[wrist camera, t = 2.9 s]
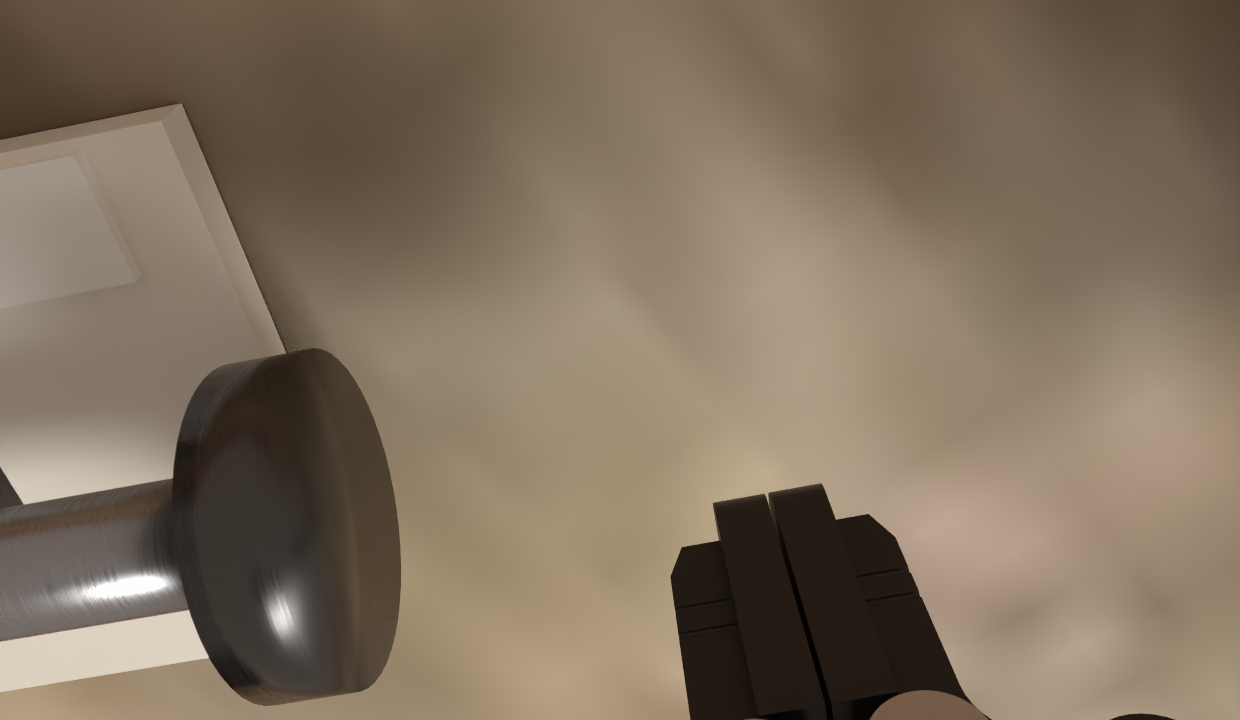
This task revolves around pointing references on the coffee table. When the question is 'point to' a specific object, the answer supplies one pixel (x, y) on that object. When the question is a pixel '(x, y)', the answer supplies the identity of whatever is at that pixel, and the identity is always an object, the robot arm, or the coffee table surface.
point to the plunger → (234, 537)
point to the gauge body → (112, 339)
